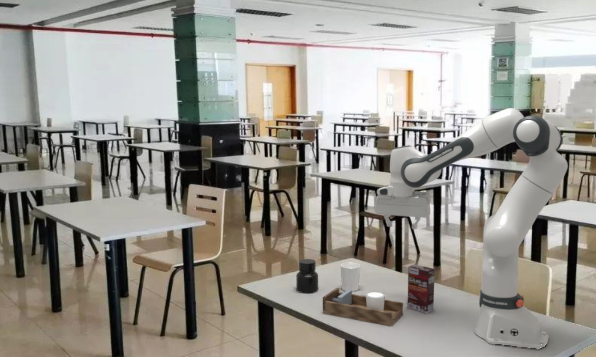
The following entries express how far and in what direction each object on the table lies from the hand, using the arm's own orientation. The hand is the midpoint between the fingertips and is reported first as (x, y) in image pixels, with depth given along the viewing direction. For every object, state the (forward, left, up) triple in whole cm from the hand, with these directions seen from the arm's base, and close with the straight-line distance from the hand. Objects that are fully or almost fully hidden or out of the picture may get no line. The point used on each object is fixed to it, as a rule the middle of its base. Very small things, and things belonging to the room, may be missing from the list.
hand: (402, 227), depth 214 cm
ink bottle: (+39, 0, -30) cm, 50 cm away
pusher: (+18, +14, -28) cm, 37 cm away
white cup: (+24, -9, -30) cm, 40 cm away
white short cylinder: (+5, +14, -29) cm, 33 cm away
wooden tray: (+9, +14, -30) cm, 34 cm away
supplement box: (-8, 0, -30) cm, 31 cm away
